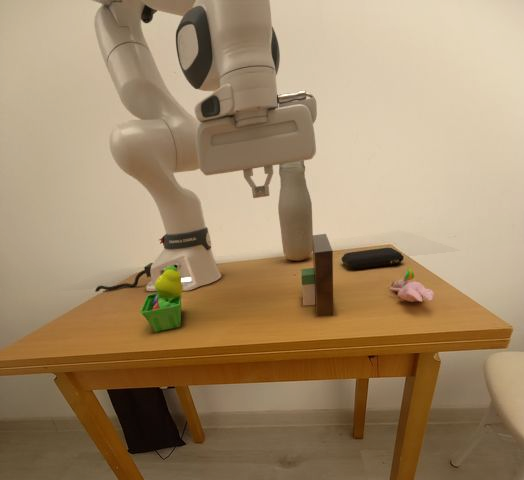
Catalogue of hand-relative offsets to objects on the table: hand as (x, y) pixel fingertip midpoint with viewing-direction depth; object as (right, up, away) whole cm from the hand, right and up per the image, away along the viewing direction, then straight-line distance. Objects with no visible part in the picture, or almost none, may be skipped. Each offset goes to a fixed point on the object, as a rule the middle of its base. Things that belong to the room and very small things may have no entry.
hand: (261, 197), depth 54 cm
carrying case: (+30, -5, +26) cm, 40 cm away
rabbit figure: (+29, -19, +3) cm, 34 cm away
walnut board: (+13, -17, +9) cm, 24 cm away
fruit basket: (-20, -22, +10) cm, 31 cm away
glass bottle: (+12, +1, +40) cm, 42 cm away
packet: (+12, -17, +9) cm, 23 cm away
